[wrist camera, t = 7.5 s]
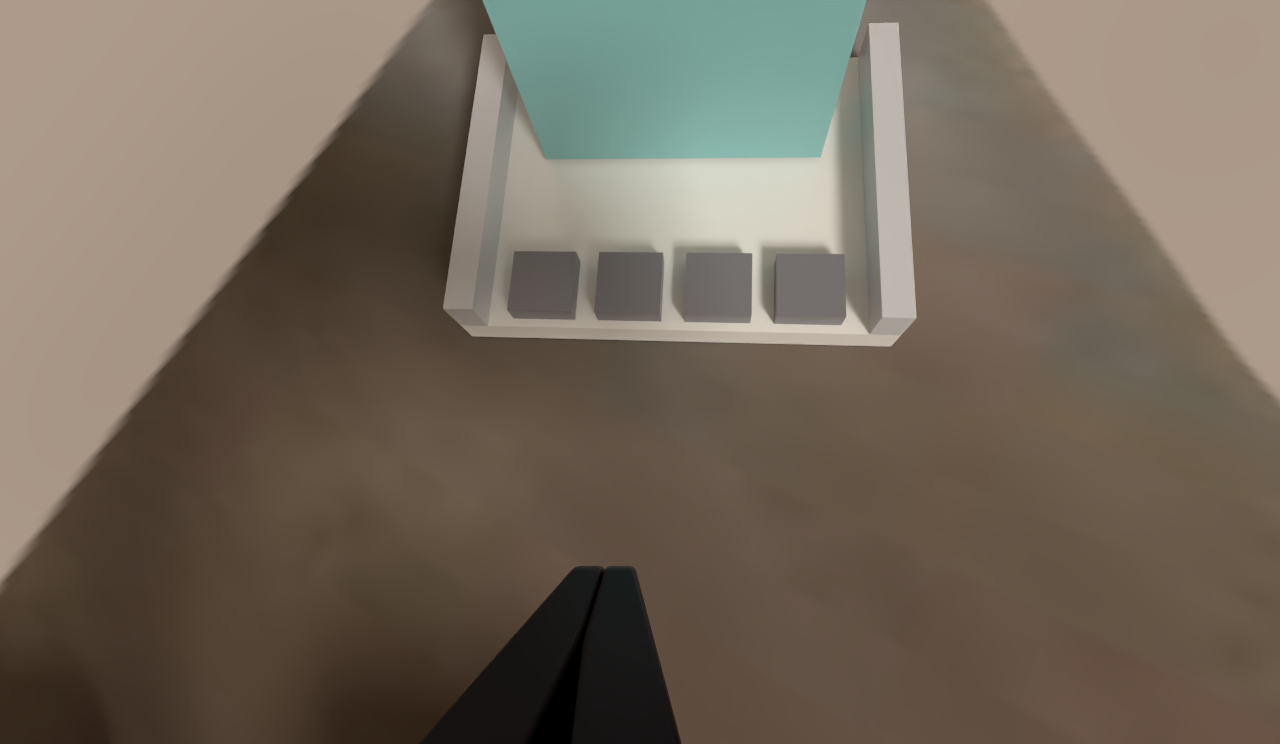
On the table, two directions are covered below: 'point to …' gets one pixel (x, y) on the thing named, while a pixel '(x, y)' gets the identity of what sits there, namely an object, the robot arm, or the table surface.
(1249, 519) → the table surface
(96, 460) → the table surface
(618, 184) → the white slotted tray
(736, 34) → the teal and cream panel
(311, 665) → the table surface
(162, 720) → the table surface
